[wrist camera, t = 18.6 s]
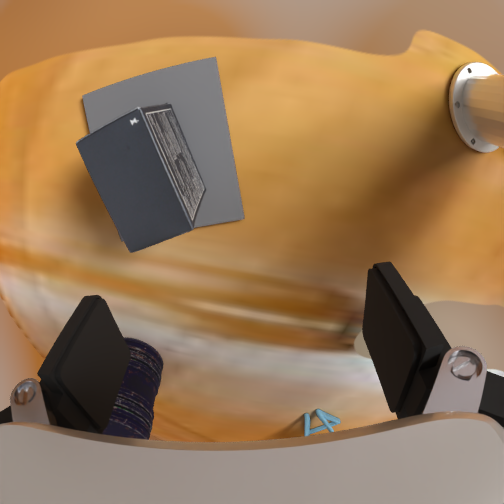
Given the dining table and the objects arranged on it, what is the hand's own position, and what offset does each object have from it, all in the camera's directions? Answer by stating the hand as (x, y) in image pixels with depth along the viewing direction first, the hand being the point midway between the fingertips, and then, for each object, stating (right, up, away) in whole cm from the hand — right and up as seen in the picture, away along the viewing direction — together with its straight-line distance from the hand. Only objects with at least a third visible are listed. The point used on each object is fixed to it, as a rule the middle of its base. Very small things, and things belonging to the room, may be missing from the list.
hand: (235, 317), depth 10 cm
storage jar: (-18, -15, +35) cm, 42 cm away
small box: (-9, +12, +21) cm, 25 cm away
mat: (-9, +13, +21) cm, 26 cm away
